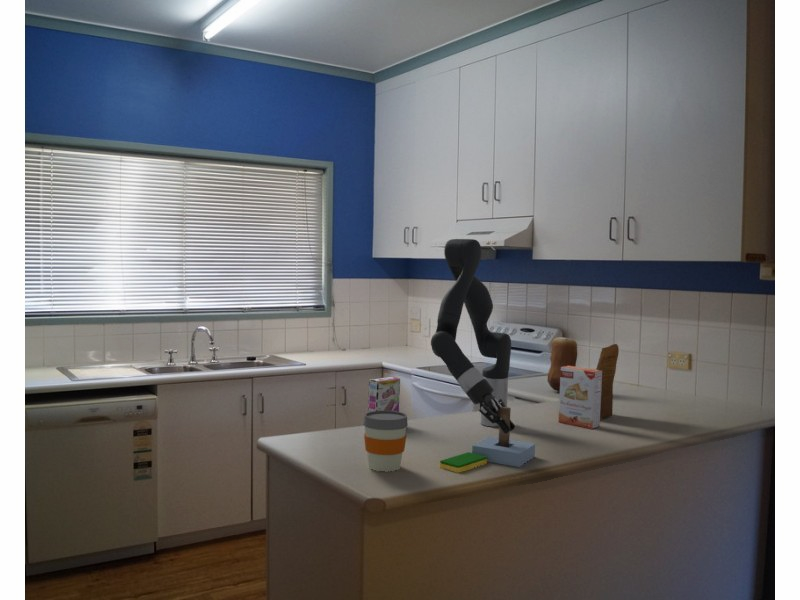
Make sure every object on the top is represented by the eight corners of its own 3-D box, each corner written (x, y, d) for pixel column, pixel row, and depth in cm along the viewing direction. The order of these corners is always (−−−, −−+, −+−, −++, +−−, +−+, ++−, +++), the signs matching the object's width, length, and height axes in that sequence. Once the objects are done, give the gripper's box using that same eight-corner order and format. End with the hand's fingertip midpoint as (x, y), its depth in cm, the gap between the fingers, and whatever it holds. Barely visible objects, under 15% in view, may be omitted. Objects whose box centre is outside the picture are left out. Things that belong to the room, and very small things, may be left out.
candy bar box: (376, 428, 253) (377, 381, 251) (366, 425, 256) (368, 379, 255) (399, 423, 260) (400, 378, 259) (389, 421, 264) (391, 376, 263)
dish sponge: (438, 468, 208) (439, 460, 208) (468, 459, 218) (468, 451, 218) (458, 474, 203) (458, 465, 203) (487, 464, 214) (487, 456, 213)
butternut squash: (578, 390, 334) (580, 336, 333) (578, 396, 321) (580, 339, 320) (547, 388, 337) (549, 335, 336) (546, 393, 324) (548, 338, 323)
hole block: (488, 449, 229) (489, 436, 229) (534, 456, 222) (535, 443, 221) (471, 458, 218) (472, 445, 218) (519, 467, 210) (519, 453, 210)
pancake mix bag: (621, 415, 284) (625, 344, 283) (599, 422, 270) (602, 347, 268) (605, 412, 289) (608, 342, 287) (582, 419, 275) (585, 346, 273)
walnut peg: (500, 445, 222) (502, 406, 221) (510, 447, 220) (512, 407, 219) (496, 447, 219) (498, 408, 218) (506, 449, 217) (508, 409, 216)
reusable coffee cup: (370, 459, 215) (372, 408, 214) (411, 463, 211) (413, 412, 210) (356, 470, 203) (357, 417, 202) (399, 476, 199) (400, 421, 198)
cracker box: (557, 422, 268) (559, 366, 267) (565, 420, 273) (568, 365, 271) (592, 429, 259) (594, 371, 258) (600, 427, 263) (602, 369, 262)
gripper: (473, 381, 216) (511, 427, 210) (492, 375, 228) (527, 418, 223) (457, 396, 219) (493, 442, 213) (476, 389, 231) (510, 433, 226)
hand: (510, 430), depth 218 cm, fingers closed on walnut peg, 3 cm apart
